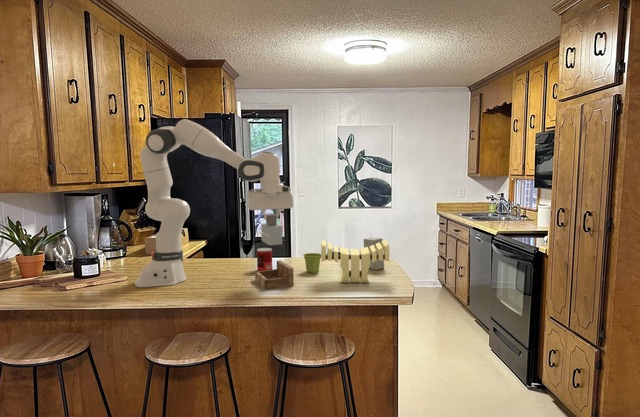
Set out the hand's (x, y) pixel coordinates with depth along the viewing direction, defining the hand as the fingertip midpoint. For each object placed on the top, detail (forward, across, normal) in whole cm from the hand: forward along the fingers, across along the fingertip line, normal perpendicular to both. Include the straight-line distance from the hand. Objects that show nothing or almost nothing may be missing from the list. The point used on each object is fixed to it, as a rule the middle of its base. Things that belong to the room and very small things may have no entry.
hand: (271, 219), depth 183 cm
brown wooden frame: (+29, +1, 0) cm, 29 cm away
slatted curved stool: (+29, +36, -12) cm, 48 cm away
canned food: (+30, +4, +26) cm, 39 cm away
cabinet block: (+10, 0, 0) cm, 11 cm away
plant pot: (+30, +25, +12) cm, 40 cm away
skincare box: (+30, +56, +4) cm, 63 cm away
